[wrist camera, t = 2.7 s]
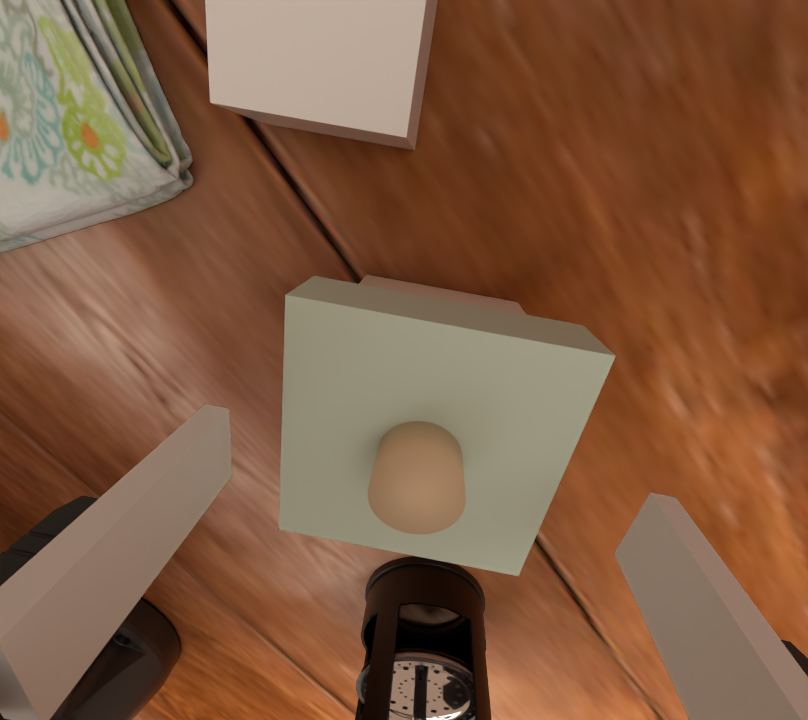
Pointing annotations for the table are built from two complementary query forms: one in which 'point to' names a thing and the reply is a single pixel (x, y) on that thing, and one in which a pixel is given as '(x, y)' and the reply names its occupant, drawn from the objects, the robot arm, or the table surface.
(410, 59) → the block
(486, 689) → the french press
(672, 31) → the table surface
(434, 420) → the lid
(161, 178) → the towel
